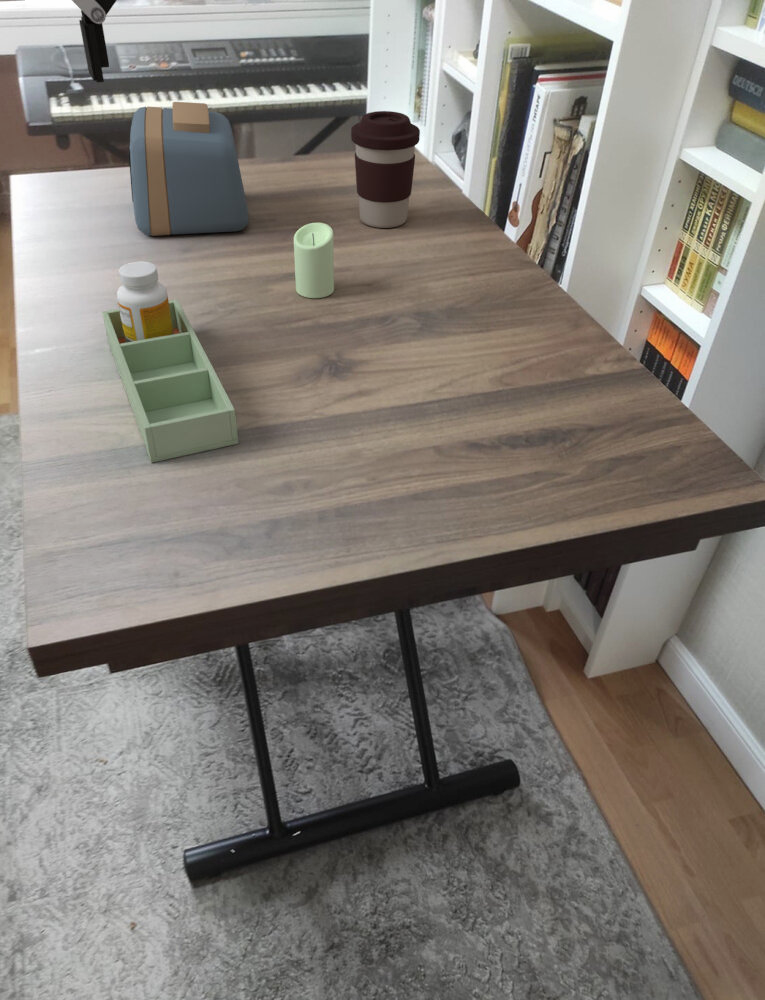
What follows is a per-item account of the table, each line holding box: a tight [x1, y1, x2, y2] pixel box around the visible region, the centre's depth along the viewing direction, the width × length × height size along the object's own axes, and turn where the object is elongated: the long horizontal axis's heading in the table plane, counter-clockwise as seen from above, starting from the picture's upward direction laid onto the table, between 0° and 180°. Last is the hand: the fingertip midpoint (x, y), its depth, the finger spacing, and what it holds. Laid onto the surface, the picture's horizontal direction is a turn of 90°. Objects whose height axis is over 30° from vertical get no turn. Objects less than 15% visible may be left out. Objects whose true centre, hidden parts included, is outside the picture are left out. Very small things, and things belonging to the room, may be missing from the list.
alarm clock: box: [128, 101, 250, 237], centre depth 123 cm, size 16×16×16 cm
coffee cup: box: [350, 110, 421, 229], centre depth 124 cm, size 10×10×15 cm
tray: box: [101, 299, 239, 464], centre depth 89 cm, size 9×25×4 cm, turn 23°
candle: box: [293, 222, 335, 299], centre depth 107 cm, size 5×5×8 cm
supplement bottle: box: [116, 260, 174, 343], centre depth 93 cm, size 5×5×10 cm
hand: (32, 83), depth 64 cm, fingers open, 9 cm apart
